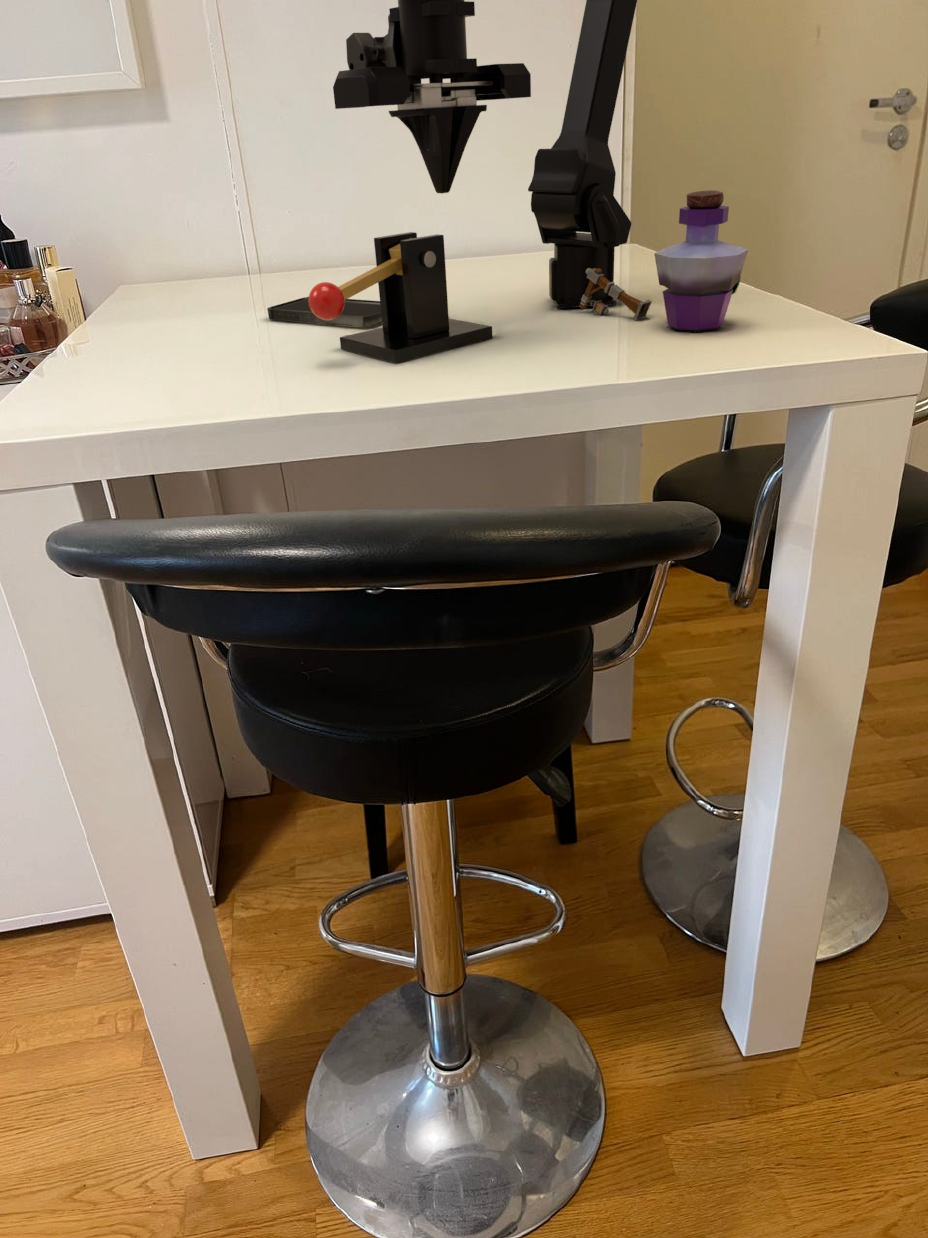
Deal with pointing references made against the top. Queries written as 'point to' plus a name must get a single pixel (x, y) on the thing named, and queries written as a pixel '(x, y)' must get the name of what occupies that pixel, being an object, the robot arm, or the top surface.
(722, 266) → the potion bottle
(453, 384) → the top surface
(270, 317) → the phone
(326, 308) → the lever
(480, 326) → the bracket
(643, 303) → the wooden post with brackets
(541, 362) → the top surface
